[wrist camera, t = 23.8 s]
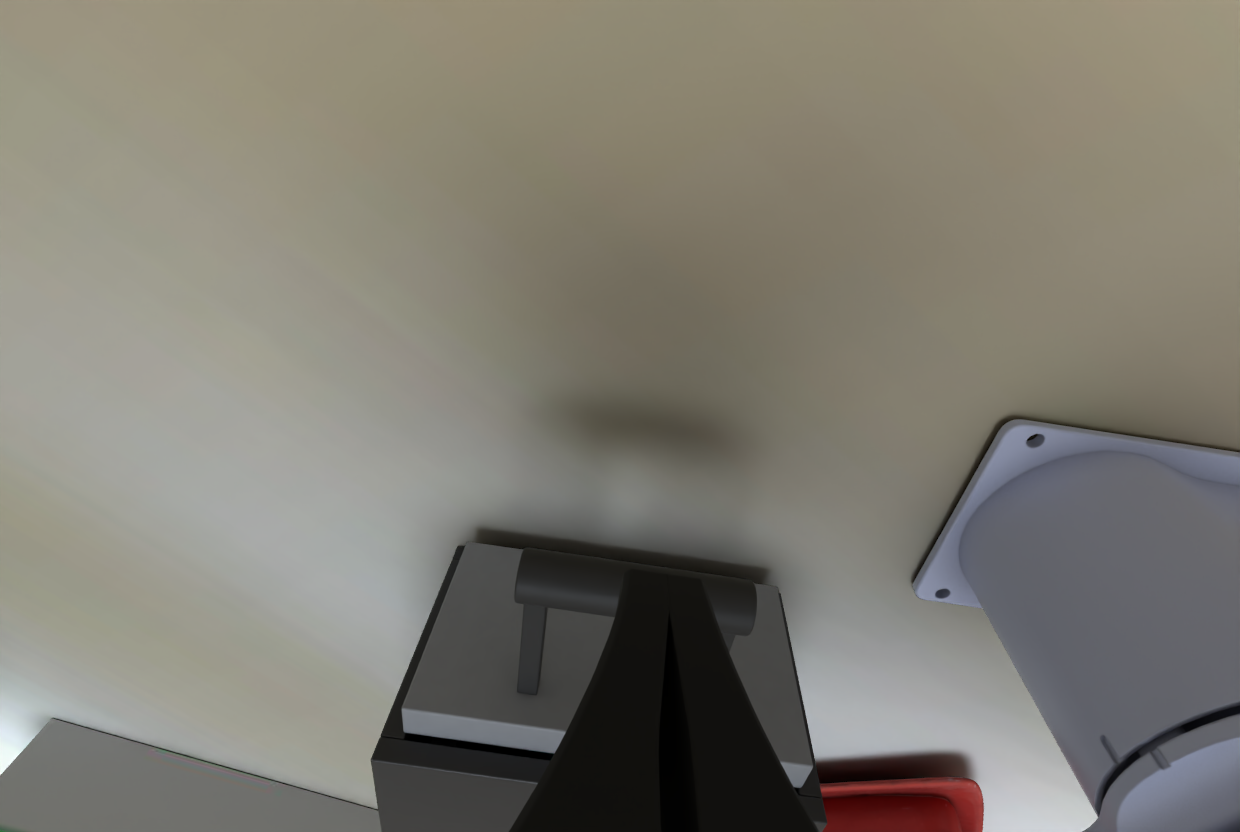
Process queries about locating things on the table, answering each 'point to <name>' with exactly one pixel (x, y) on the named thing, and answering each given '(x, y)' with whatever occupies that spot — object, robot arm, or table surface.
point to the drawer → (573, 652)
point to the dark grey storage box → (477, 769)
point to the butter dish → (904, 805)
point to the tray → (153, 792)
